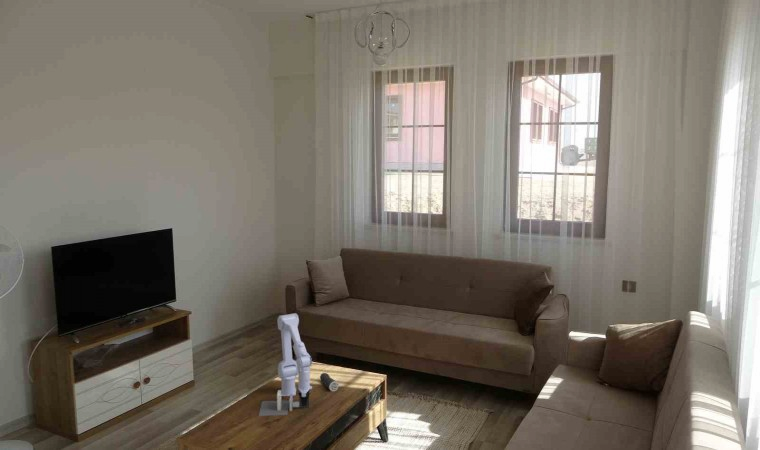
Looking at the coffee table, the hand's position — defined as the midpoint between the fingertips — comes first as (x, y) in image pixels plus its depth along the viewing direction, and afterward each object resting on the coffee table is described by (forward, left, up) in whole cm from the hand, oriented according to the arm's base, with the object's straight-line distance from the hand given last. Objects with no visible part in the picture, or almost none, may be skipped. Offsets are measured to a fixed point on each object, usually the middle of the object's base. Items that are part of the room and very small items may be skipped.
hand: (304, 404), depth 287 cm
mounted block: (0, -2, -2) cm, 3 cm away
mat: (0, -15, -2) cm, 15 cm away
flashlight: (-26, +13, -2) cm, 29 cm away
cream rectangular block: (0, -13, -1) cm, 13 cm away
